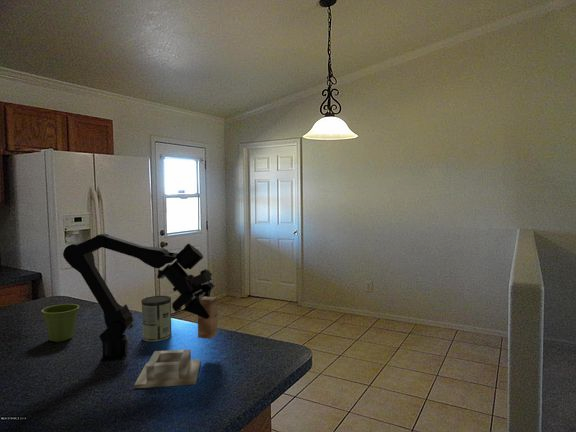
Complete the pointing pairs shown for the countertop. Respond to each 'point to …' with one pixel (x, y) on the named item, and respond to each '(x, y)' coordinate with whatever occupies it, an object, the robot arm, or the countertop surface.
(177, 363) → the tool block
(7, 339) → the countertop surface
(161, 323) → the coffee can
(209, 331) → the wooden peg
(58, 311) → the plant pot
